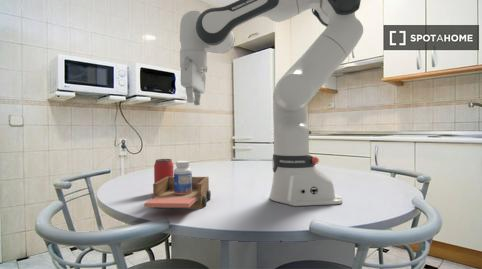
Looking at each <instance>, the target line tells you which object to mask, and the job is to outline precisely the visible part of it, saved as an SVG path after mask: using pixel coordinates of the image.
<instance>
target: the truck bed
mask: <svg viewBox="0 0 482 269" xmlns="http://www.w3.org/2000/svg"><path fill="white" fill-rule="evenodd" d="M209 182H210V180H209V176H192V192H191V193H190V194H185V195H178V194H175V193H174V177H165V178H163V179H161V180H160V181H158V182H156V183H154V182H153V184H152V188H153V189H152V190H153V192H152V194H153V196H152V198H151V199H153V198H154V197H155V196H197V197H198V201H196V202H194V203H193V204H192V205H191V206H190V207H153V209H202V208H203V207H206V206H207V203H208V201H210V200H211V197H212V196H211V195H212V193H211V190H210V189H209V188H210V187H209V186H210V185H209Z"/></svg>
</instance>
